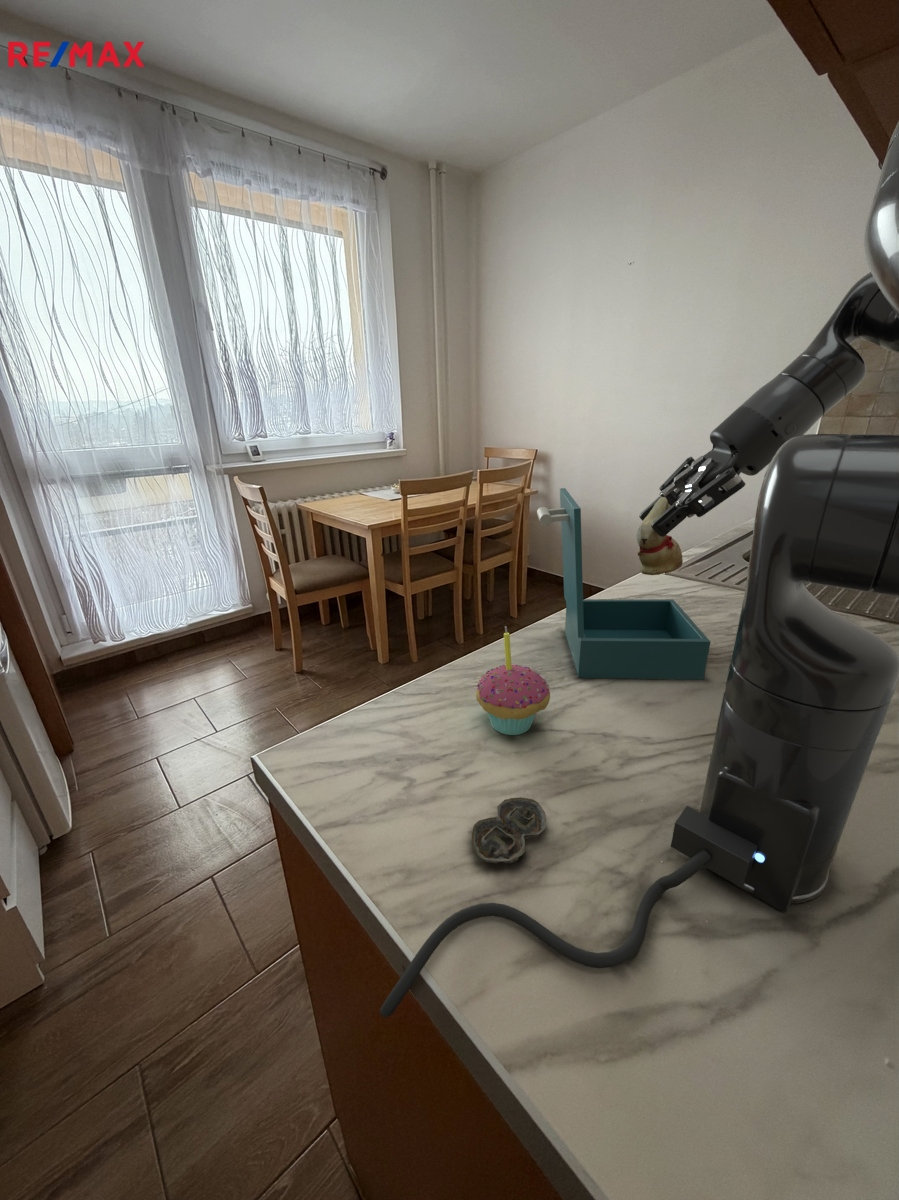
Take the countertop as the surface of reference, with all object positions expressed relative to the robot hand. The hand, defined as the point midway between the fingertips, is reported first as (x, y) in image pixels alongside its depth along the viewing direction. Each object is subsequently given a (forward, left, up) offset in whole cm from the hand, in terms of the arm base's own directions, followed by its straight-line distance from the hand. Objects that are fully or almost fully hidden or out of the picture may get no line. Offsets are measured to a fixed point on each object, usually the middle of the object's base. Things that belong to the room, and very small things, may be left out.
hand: (650, 526), depth 64 cm
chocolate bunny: (+2, -1, -6) cm, 7 cm away
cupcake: (-24, +3, -20) cm, 32 cm away
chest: (+1, +1, -20) cm, 20 cm away
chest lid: (-5, +8, -5) cm, 11 cm away
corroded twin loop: (-37, -7, -20) cm, 43 cm away
